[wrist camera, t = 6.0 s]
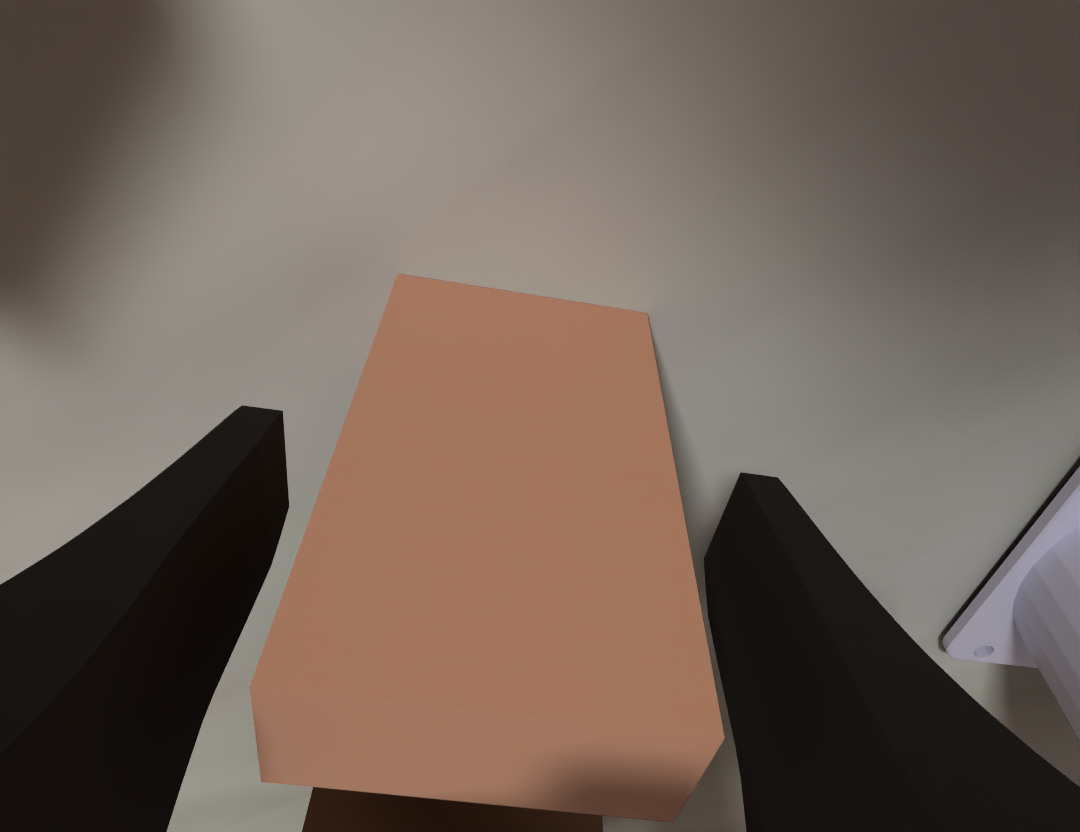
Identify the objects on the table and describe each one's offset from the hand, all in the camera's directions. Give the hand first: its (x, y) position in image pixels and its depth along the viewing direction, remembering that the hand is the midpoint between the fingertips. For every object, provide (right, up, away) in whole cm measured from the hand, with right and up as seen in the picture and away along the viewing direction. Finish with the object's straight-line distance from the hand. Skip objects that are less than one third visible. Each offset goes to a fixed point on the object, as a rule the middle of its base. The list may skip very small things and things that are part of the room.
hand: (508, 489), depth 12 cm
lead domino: (0, +3, +4) cm, 5 cm away
